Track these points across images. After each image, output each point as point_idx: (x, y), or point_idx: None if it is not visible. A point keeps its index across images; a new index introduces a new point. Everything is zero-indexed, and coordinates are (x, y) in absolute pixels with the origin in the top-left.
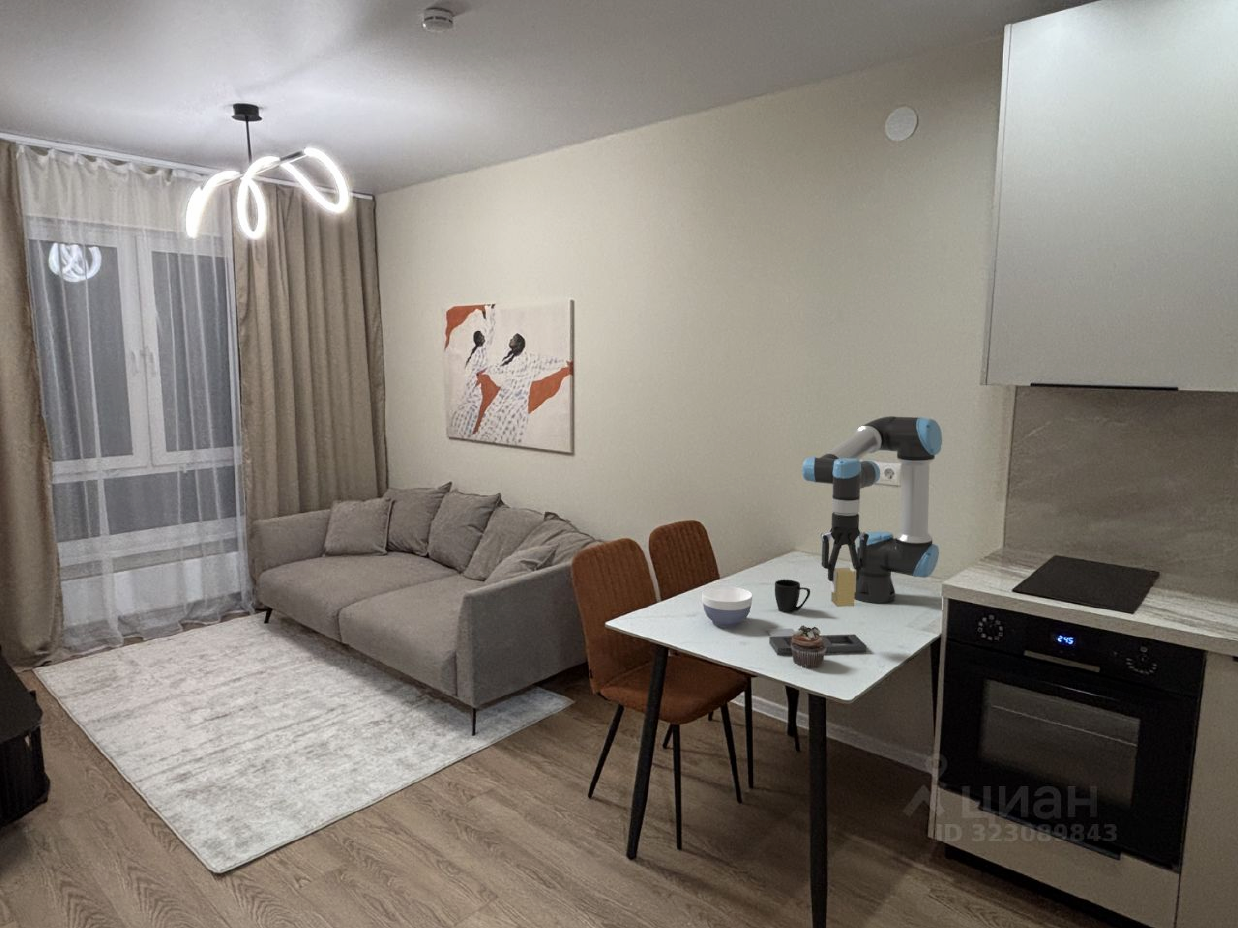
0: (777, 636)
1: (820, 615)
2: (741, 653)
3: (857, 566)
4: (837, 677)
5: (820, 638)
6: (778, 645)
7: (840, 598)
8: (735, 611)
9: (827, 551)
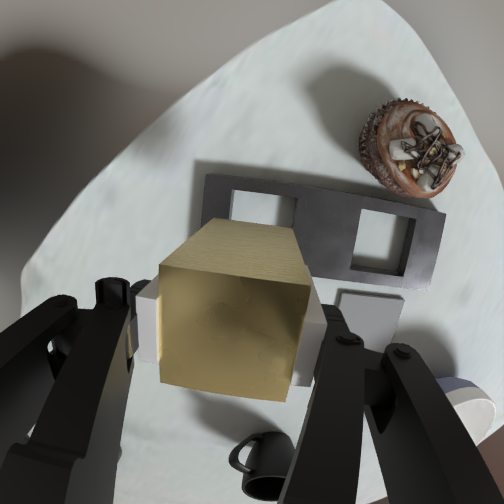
0: (390, 311)
1: (214, 408)
2: (491, 240)
3: (112, 310)
4: (359, 52)
5: (396, 117)
6: (436, 231)
7: (278, 234)
8: (459, 386)
9: (454, 459)
